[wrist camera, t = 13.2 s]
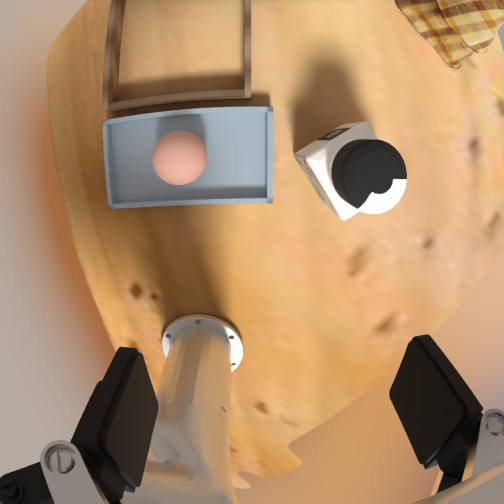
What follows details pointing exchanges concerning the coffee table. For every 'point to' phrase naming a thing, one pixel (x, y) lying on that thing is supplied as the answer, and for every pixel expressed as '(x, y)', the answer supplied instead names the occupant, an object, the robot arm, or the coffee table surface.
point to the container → (354, 170)
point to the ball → (179, 157)
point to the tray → (217, 166)
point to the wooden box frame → (112, 94)
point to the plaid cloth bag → (455, 25)
